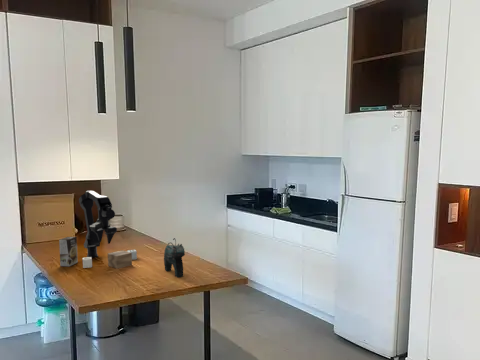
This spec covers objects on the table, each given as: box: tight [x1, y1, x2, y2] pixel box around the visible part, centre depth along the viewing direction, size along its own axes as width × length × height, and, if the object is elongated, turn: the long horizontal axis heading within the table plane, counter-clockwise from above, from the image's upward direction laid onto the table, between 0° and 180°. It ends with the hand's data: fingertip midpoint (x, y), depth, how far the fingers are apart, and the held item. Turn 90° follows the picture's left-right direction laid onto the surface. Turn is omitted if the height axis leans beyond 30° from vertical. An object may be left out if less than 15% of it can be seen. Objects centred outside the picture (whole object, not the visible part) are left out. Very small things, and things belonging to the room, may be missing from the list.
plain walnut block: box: [107, 250, 133, 270], centre depth 261 cm, size 10×10×8 cm
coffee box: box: [58, 236, 79, 267], centre depth 266 cm, size 9×6×16 cm
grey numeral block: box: [127, 249, 138, 261], centre depth 277 cm, size 5×5×5 cm
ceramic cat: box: [163, 238, 186, 279], centre depth 241 cm, size 20×6×20 cm, turn 32°
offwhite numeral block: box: [82, 256, 93, 269], centre depth 261 cm, size 5×5×5 cm
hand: (104, 242), depth 269 cm, fingers open, 9 cm apart
